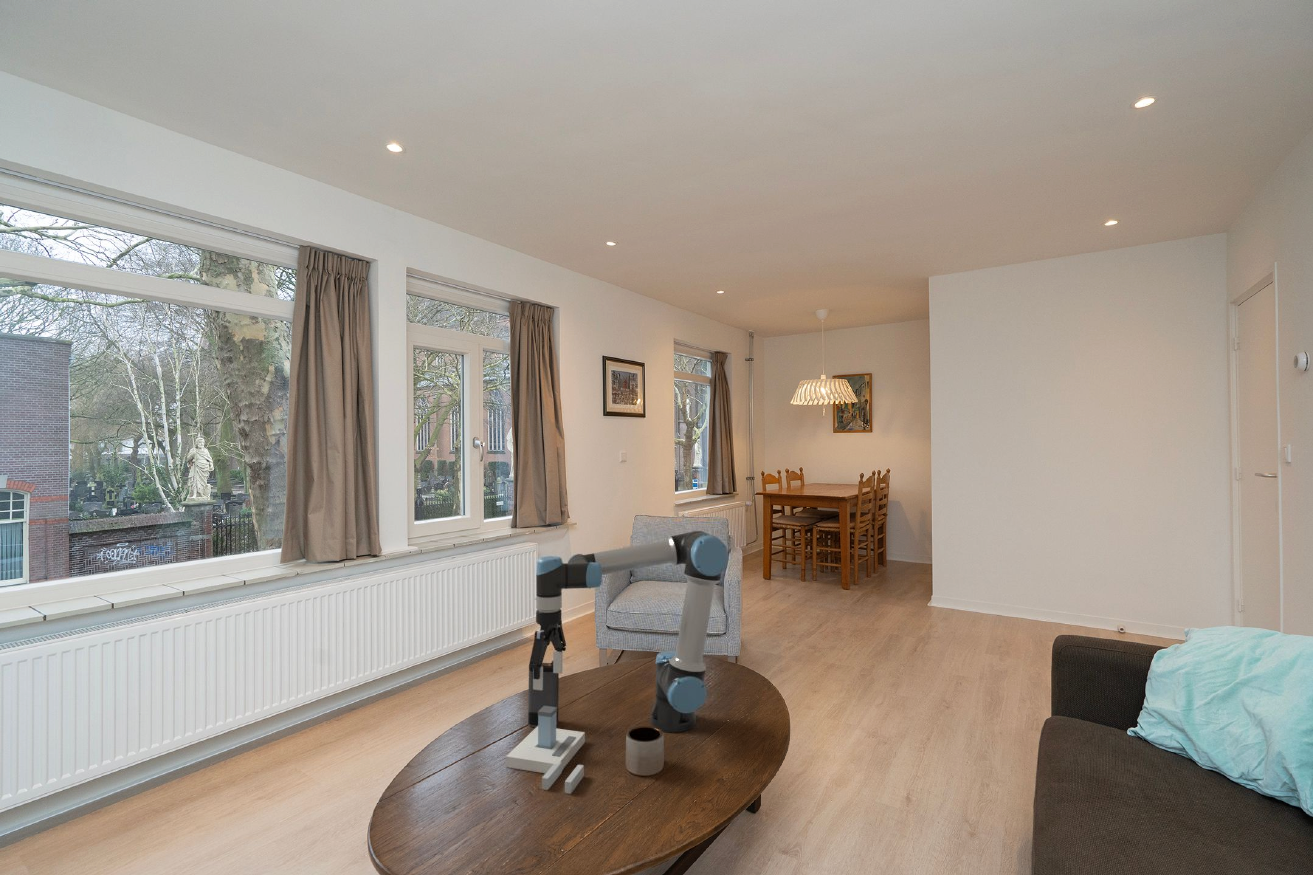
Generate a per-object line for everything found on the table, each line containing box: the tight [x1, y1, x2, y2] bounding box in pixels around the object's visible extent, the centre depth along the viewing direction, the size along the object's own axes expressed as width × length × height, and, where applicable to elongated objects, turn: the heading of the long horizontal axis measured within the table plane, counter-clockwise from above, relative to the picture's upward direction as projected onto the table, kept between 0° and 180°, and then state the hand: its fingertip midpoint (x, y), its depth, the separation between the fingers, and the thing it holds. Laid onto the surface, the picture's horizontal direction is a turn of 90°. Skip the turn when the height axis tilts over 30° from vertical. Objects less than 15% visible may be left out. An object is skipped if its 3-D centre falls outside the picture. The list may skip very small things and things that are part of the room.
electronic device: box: [527, 660, 560, 728], centre depth 200 cm, size 9×6×20 cm, turn 84°
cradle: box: [541, 762, 585, 795], centre depth 164 cm, size 8×9×3 cm
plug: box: [538, 706, 557, 749], centre depth 180 cm, size 4×4×13 cm
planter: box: [625, 724, 665, 777], centre depth 173 cm, size 11×11×10 cm
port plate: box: [505, 726, 586, 774], centre depth 180 cm, size 16×20×3 cm
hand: (548, 680), depth 180 cm, fingers open, 13 cm apart
